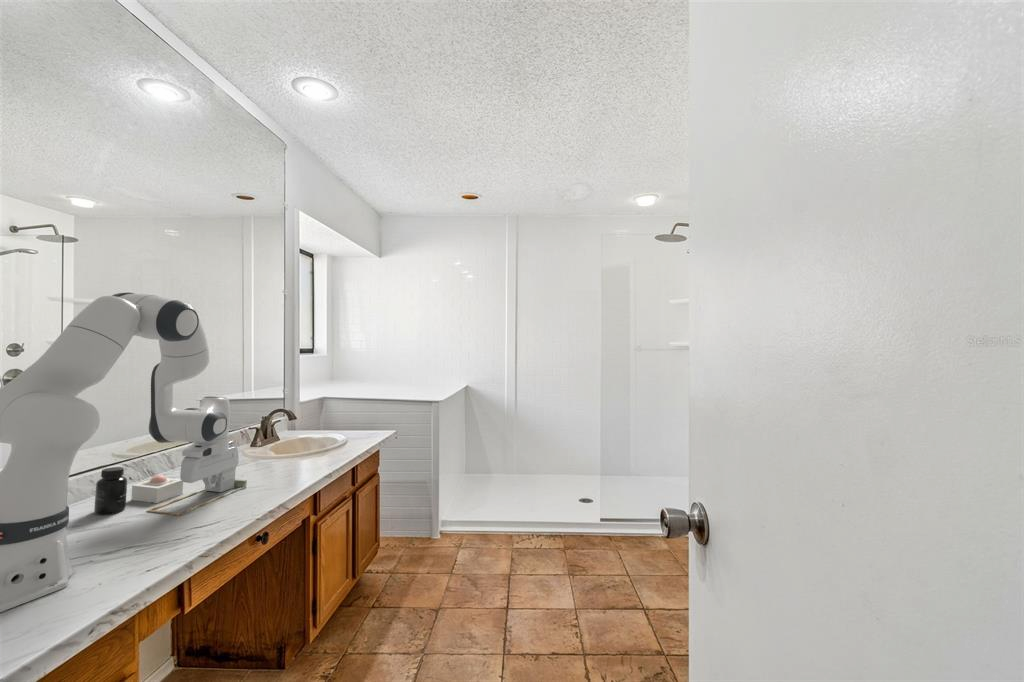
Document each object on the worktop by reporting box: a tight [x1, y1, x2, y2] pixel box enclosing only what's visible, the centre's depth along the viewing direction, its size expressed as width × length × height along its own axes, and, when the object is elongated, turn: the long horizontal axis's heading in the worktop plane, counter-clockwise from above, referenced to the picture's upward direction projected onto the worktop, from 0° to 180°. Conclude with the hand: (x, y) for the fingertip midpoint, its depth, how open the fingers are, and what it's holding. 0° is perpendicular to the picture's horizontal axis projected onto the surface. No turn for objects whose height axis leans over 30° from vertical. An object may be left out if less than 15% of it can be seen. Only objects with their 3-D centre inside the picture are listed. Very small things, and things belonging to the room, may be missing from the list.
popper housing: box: [130, 477, 184, 504], centre depth 144 cm, size 9×9×4 cm
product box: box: [204, 466, 237, 493], centre depth 154 cm, size 6×6×7 cm
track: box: [146, 478, 248, 517], centre depth 145 cm, size 27×10×2 cm, turn 172°
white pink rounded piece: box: [147, 474, 170, 487], centre depth 144 cm, size 6×6×6 cm
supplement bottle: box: [93, 466, 128, 515], centre depth 132 cm, size 7×7×12 cm
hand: (210, 488), depth 148 cm, fingers closed
